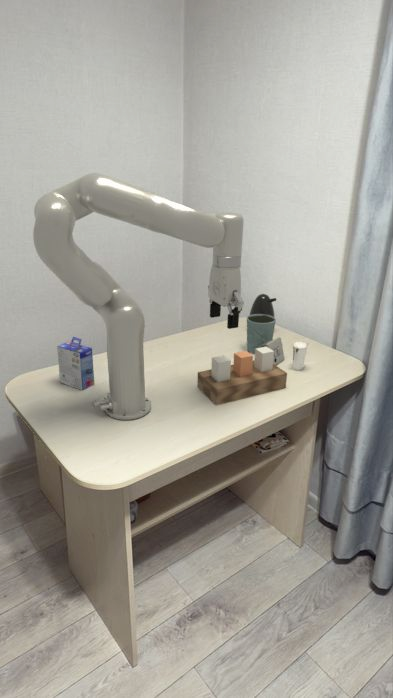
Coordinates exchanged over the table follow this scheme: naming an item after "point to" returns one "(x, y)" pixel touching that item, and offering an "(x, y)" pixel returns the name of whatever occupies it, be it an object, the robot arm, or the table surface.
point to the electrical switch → (275, 349)
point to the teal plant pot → (259, 330)
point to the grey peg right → (264, 359)
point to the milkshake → (299, 355)
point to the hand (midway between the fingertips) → (223, 322)
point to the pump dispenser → (263, 305)
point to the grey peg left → (220, 368)
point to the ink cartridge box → (75, 364)
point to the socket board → (241, 384)
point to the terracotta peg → (243, 363)
